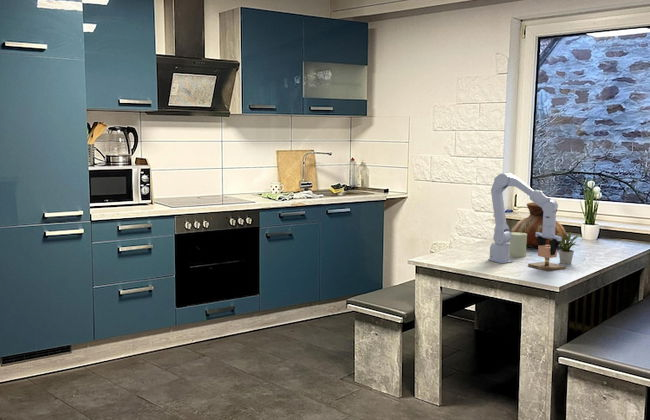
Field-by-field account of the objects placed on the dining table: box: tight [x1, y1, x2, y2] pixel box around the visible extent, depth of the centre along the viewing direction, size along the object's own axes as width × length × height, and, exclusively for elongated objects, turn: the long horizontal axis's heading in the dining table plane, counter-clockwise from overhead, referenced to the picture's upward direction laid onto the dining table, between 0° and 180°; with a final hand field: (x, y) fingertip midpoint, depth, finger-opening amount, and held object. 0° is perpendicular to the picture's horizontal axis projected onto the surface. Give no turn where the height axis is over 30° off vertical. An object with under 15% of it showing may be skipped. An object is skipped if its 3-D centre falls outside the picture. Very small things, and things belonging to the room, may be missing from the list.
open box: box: [537, 245, 558, 259], centre depth 314 cm, size 6×6×5 cm
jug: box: [510, 201, 568, 249], centre depth 370 cm, size 30×30×25 cm
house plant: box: [556, 230, 582, 265], centre depth 324 cm, size 14×14×16 cm
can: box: [509, 231, 527, 258], centre depth 343 cm, size 9×9×12 cm
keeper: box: [527, 258, 567, 272], centre depth 315 cm, size 12×12×5 cm
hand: (547, 253), depth 315 cm, fingers closed on open box, 6 cm apart
